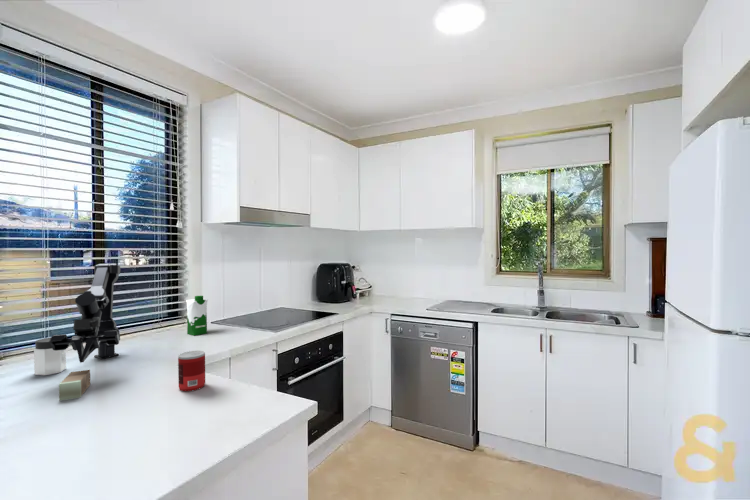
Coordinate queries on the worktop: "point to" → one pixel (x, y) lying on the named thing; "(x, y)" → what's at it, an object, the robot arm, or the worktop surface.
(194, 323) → the milk carton
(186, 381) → the canned food
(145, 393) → the worktop surface
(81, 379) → the green and tan block
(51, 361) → the jar
